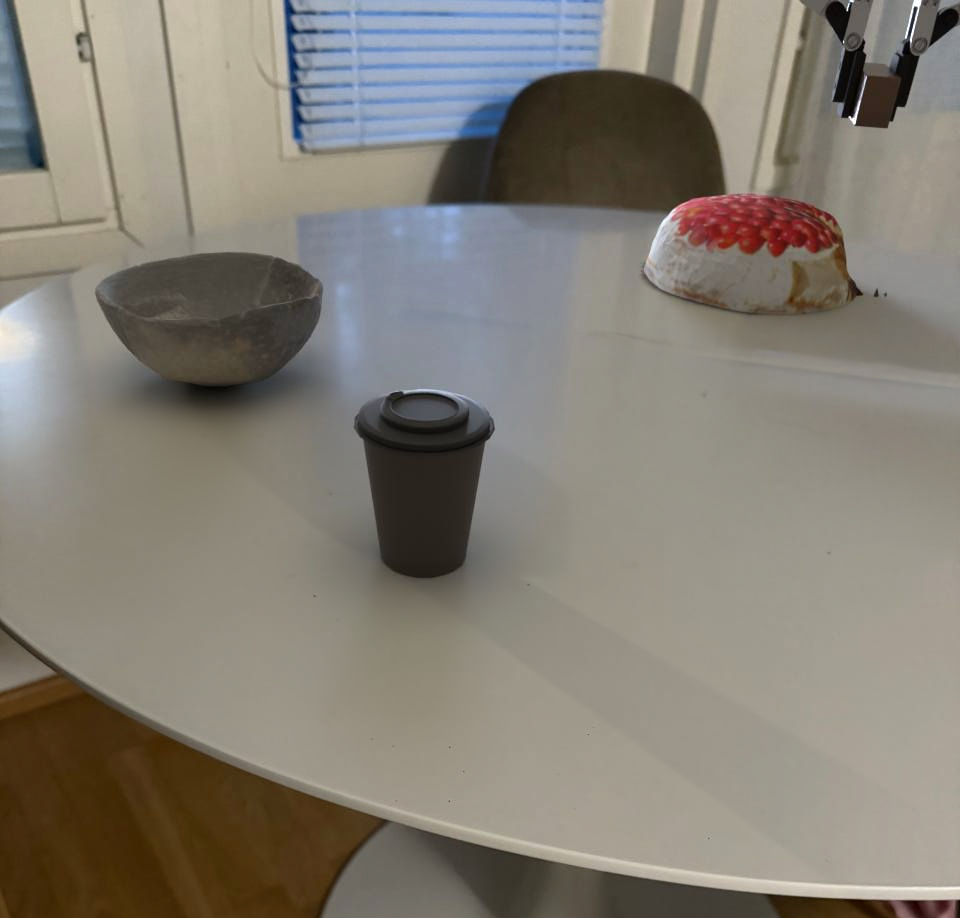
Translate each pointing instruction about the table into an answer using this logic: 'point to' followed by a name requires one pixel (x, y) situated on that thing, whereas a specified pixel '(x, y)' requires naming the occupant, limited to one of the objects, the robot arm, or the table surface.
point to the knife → (875, 96)
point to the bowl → (213, 315)
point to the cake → (752, 255)
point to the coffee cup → (423, 475)
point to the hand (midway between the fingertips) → (864, 114)
